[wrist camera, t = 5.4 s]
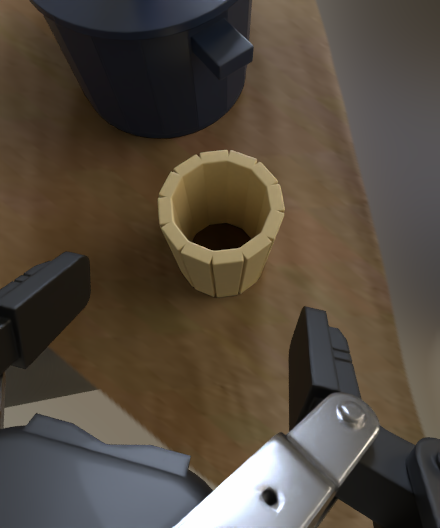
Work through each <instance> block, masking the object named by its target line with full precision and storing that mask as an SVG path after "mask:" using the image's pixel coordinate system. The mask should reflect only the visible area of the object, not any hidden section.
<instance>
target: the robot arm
mask: <svg viewBox="0 0 440 528" xmlns="http://www.w3.org/2000/svg"><path fill="white" fill-rule="evenodd" d="M90 294H91V285H90V264H89V258H88V257H87V256H85V255H80V254H76V253H72V252H64V253H62V254H61V255H59V256H58V257H57V258H55V259H54V260H52V261H48V262H45V263H42V264H39V265H36V266H34V267H33V268H31V269H30V270H28V271H27V272H25V273H24V275H21V276H19V277H18V278H16V279H15V281H14V282H13V281H12V282H10V283H9V284H8V285H6V286H5V287H3V288H2V289H0V528H318V526H319V525H320V524H321V522H322V521H323V519H324V518H325V517H326V515H327V514H328V512H329V511H330V510H331V508H332V507H333V506H334V504H335V503H336V501H337V500H338V499H340V500H341V501H343V502H344V503H346V504H348V505H349V506H351V507H352V508H354V509H355V510H357V511H359V512H360V513H362V514H363V515H365V516H366V517H368V518H370V519H371V520H373V526H374V528H440V439H436V438H430V437H427V438H423V439H421V440H419V441H418V443H417V444H416V445H413V444H412V443H410V442H408V441H406V440H404V439H402V438H400V437H398V436H396V435H394V434H393V433H391V432H389V431H387V430H386V429H384V428H383V427H381V426H380V424H379V420H378V418H377V416H376V414H375V412H374V411H373V410H372V409H371V408H370V407H369V405H368V404H366V403H365V402H364V401H362V399H361V395H360V391H359V387H358V383H357V379H356V375H355V371H354V367H353V364H352V359H351V355H350V354H349V353H350V351H349V347H348V343H347V340H346V338H345V337H344V336H343V334H342V333H341V332H340V330H339V329H338V328H333V327H329V325H328V320H327V315H326V311H323V310H319V309H314V308H310V307H306V306H304V307H303V308H302V310H301V313H300V316H299V319H298V322H297V325H296V328H295V331H294V334H293V337H292V340H291V344H290V349H289V433H288V434H287V435H284V434H283V433H282V432H280V433H278V434H276V435H275V436H274V437H272V438H271V439H270V440H269V441H268V442H267V443H266V444H265V445H264V446H262V447H261V448H260V449H259V450H258V451H257V452H256V453H255V454H254V455H253V456H251V457H250V458H249V459H248V460H247V461H246V462H245V463H244V464H243V465H242V466H240V467H239V468H238V469H237V470H236V471H235V472H234V473H233V474H232V475H231V476H229V477H228V478H227V479H226V480H225V481H224V482H223V483H222V484H221V485H220V486H218V487H217V488H216V489H215V490H214V491H213V490H212V489H211V488H210V487H209V486H208V485H207V484H206V482H205V481H204V480H202V479H201V478H200V477H199V476H197V475H196V474H195V473H193V472H192V471H190V470H188V468H189V462H190V457H191V456H189V455H185V454H182V453H178V452H175V451H171V450H167V449H164V448H160V447H157V446H153V445H110V444H105V443H103V442H101V441H100V440H98V439H97V438H95V437H93V436H92V435H90V434H89V433H87V432H86V431H84V430H82V429H81V428H79V427H78V426H76V425H75V424H73V423H69V422H66V421H62V420H59V419H55V418H51V417H48V416H44V415H41V414H37V413H36V414H35V415H34V417H33V418H32V419H31V420H30V421H29V423H28V424H27V425H26V426H15V427H9V428H5V429H3V422H4V404H5V386H6V375H5V370H6V369H7V368H8V367H9V366H10V365H12V366H15V367H19V368H23V369H26V368H27V367H28V366H29V365H30V364H31V363H32V362H33V361H34V360H35V359H36V358H37V357H38V356H39V355H40V354H41V353H42V352H43V351H44V350H45V348H46V347H47V346H48V345H49V344H50V343H51V342H52V341H53V340H54V339H55V338H56V337H57V336H58V335H59V334H60V333H61V332H62V331H63V330H64V329H65V327H66V326H67V325H68V324H69V323H70V322H71V321H72V320H73V319H74V318H75V317H76V316H77V315H78V314H79V313H80V312H81V311H82V310H83V309H84V307H85V306H86V305H87V303H88V301H89V298H90Z"/></svg>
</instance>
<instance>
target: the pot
mask: <svg viewBox="0 0 440 528" xmlns="http://www.w3.org/2000/svg"><path fill="white" fill-rule="evenodd" d="M251 7H252V0H238V1H237V2H236V3H235V4H233V5H232V6H231V7H230V8H229V9H227V10H226V11H225V12H223V13H222V14H220V15H218V16H217V17H215V18H214V19H212V20H210V21H208V22H206V23H204V24H202V25H200V26H198V27H195V28H192V29H190V30H187V31H184V32H182V33H178V34H174V35H170V36H166V37H160V38H154V39H147V40H130V41H127V40H109V39H103V38H96V37H91V36H88V35H84V34H80V33H77V32H74V31H72V30H69V29H67V28H64V27H62V26H60V25H59V24H57V23H55V22H53V21H51V20H50V19H49V18H47V17H46V16H45V15H44V17H45V19H46V21H47V23H48V25H49V27H50V29H51V31H52V33H53V34H54V36H55V38H56V40H57V42H58V44H59V46H60V48H61V50H62V52H63V54H64V56H65V58H66V59H67V61H68V63H69V65H70V67H71V69H72V71H73V73H74V75H75V77H76V79H77V81H78V83H79V84H80V86H81V88H82V90H83V92H84V94H85V96H86V97H87V98H88V100H89V101H90V103H91V104H92V106H93V107H94V109H95V110H96V111H97V112H98V114H99V115H100V116H101V117H102V118H103V119H105V120H106V121H107V122H108V123H110V124H111V125H113V126H115V127H116V128H118V129H120V130H122V131H125V132H127V133H130V134H133V135H137V136H142V137H148V138H172V137H178V136H184V135H187V134H191V133H194V132H196V131H199V130H201V129H204V128H206V127H207V126H209V125H211V124H213V123H214V122H216V121H217V120H218V119H220V118H221V117H222V116H223V115H224V114H226V113H227V112H228V111H229V110H230V108H231V107H232V106H233V105H234V104H235V102H236V100H237V99H238V97H239V95H240V93H241V91H242V89H243V86H244V82H245V75H246V68H247V64H249V63H250V62H252V59H253V48H254V47H253V45H252V44H251V43H250V42H249V34H250V20H251Z"/></svg>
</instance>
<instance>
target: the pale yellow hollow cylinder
mask: <svg viewBox="0 0 440 528" xmlns="http://www.w3.org/2000/svg"><path fill="white" fill-rule="evenodd" d="M174 172H175V173H174ZM174 172H170V174H169V176H168V178H167V179H166V181H165V183H164V185H163V187H162V189H161V191H160V192H159V197H160V198H158V200H157V201H158V215H159V225H160V227H161V230H162V232H163V234H164V237H165V239H166V241H167V243H168V245H169V247H170V249H171V251H172V253H173V256H174V258H175V260H176V262H177V264H178V266H179V268H180V270H181V272H182V274H183V275H184V276H185V278H186V279H187V280H188V282H189V283H190V284H191V286H192V287H195V289H196V290H198V291H201V292H203V293H205V294H208V295H210V296H212V297H215V295H216V296H217V297H226V296H234V295H238V292H239V293H240V294H241V293H243V292H244V291H245V290H247V289H248V288H249V287H251V286H252V285H253V284H255V283H256V282H257V280H258V279H259V278H260V275H261V273H262V270H263V268H264V265H265V263H266V260H267V258H268V255H269V253H270V250H271V248H272V245H273V243H274V240H275V238H276V235H277V233H278V230H279V228H280V225H281V223H282V220H283V217H284V211H285V208H284V203H283V197H282V192H281V187H280V185H279V184H277V183H278V181H277V179H276V178H275V177H274V176H273V175H272V174H271V173H270V172H269V171H268V170H267V168H266V167H265V166H264V165H263V164H262V163H261V162H259V163H257V159H255V158H252V157H249V156H247V155H244V154H241V153H238V152H235V151H232V150H231V151H230V153H229V155H228V151H227V150H220V151H211V152H202V153H200V158H199V157H198V155H194V156H193V157H191V158H189V159H188V160H186V161H185V162H183V163H182V164H180V165H178V166H177V167H175V168H174ZM221 223H228V224H231V225H234V226H236V227H239V228H241V229H243V230H244V231H245V232H246V233H247V235H248V236H249V237H250V238H251V240H250V241H249V242H247V243H246V244H244V245H243V246H242V247H240V248H235V249H227V250H218V251H212V250H209V249H207V248H204V247H202V246H200V245H197V244H195V243H192V241H193V239H194V237H195V235H196V234H197V233H198V232H200V231H201V230H203V229H204V228H206V227H207V226H208V225H212V224H221Z"/></svg>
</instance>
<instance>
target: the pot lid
mask: <svg viewBox="0 0 440 528" xmlns="http://www.w3.org/2000/svg"><path fill="white" fill-rule="evenodd" d="M29 1H30V2H31V3H32V4H33V5H34V6H35V7H36V8H37V9H38V11H39V12H41V13H42V14H43V15H45V16H46V17H47V18H49V19H50V20H51V21H53V22H55V23H57V24H59V25H60V26H62V27H64V28H67V29H69V30H72V31H74V32H77V33H80V34H84V35H88V36H91V37H96V38H103V39H109V40H127V41H130V40H147V39H154V38H160V37H166V36H170V35H174V34H178V33H182V32H184V31H187V30H190V29H192V28H195V27H198V26H200V25H202V24H204V23H206V22H208V21H210V20H212V19H214V18H215V17H217V16H218V15H220V14H222V13H223V12H225V11H226V10H227V9H229V8H230V7H231V6H232V5H233V4H235V3H236V2H237V1H238V0H29Z"/></svg>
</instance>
